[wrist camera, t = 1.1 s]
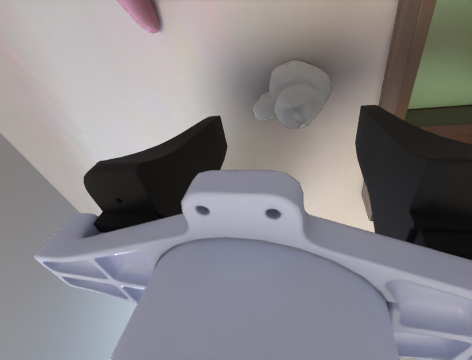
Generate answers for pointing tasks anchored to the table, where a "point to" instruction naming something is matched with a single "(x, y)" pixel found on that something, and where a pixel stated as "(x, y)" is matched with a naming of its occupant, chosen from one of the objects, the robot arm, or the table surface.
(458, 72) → the caddy
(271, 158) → the table surface
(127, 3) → the video game controller
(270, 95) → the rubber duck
